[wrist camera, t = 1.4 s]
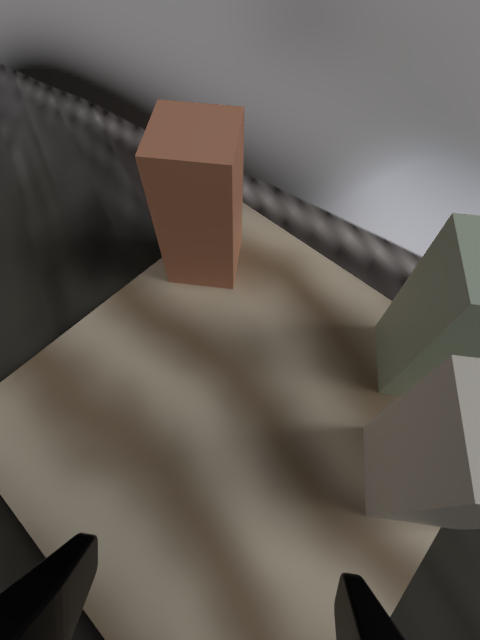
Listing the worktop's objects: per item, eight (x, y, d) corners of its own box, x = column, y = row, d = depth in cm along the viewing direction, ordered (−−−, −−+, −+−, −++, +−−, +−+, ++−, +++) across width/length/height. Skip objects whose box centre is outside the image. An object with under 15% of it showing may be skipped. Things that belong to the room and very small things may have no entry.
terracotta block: (233, 289, 26) (232, 165, 17) (168, 282, 26) (134, 155, 17) (241, 239, 28) (244, 106, 19) (181, 233, 28) (157, 99, 19)
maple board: (256, 832, 15) (257, 851, 14) (-40, 426, 22) (-52, 422, 21) (509, 391, 23) (520, 386, 23) (237, 208, 31) (237, 199, 30)
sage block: (456, 402, 22) (601, 318, 13) (378, 393, 22) (470, 304, 14) (446, 334, 24) (564, 224, 15) (374, 326, 24) (452, 213, 16)
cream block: (456, 529, 19) (647, 527, 10) (365, 516, 19) (475, 503, 10) (444, 437, 21) (592, 371, 12) (363, 427, 21) (451, 354, 13)
